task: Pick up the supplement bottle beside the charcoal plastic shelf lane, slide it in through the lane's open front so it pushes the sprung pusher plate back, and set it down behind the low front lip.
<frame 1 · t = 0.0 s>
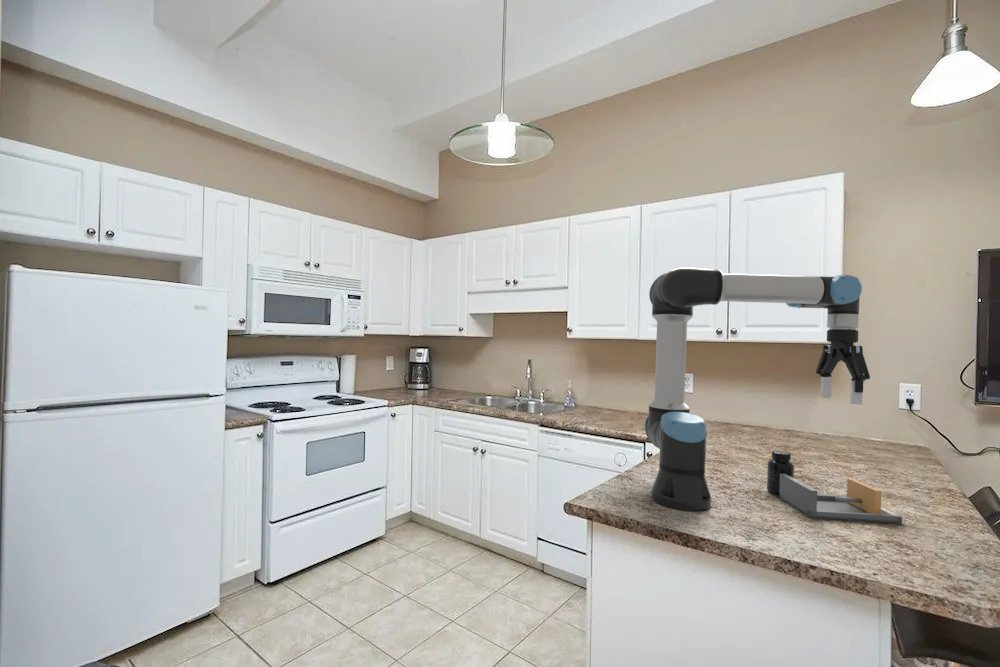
hand: (840, 401, 138), 28 cm above the counter, fingers open, 13 cm apart
pusher: (851, 495, 125), point 4 cm above the counter, slide at 0.0 cm
supplement bottle: (779, 493, 139), on the counter
lane: (836, 510, 125), on the counter
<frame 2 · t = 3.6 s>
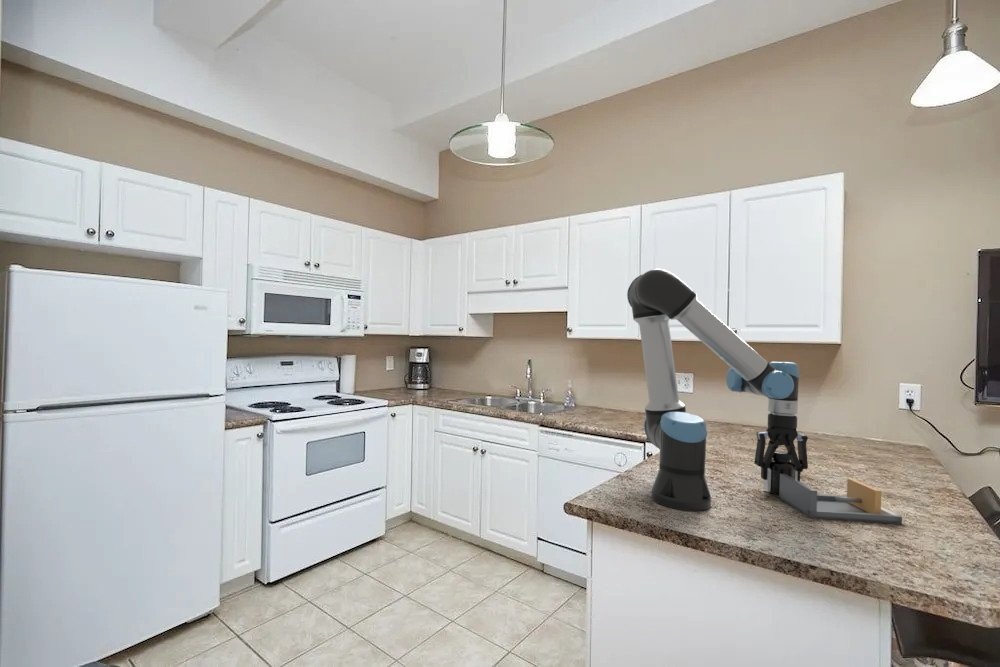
hand: (779, 491, 139), 0 cm above the counter, fingers closed on supplement bottle, 7 cm apart
supplement bottle: (779, 493, 139), on the counter, touching gripper
everything else where it was.
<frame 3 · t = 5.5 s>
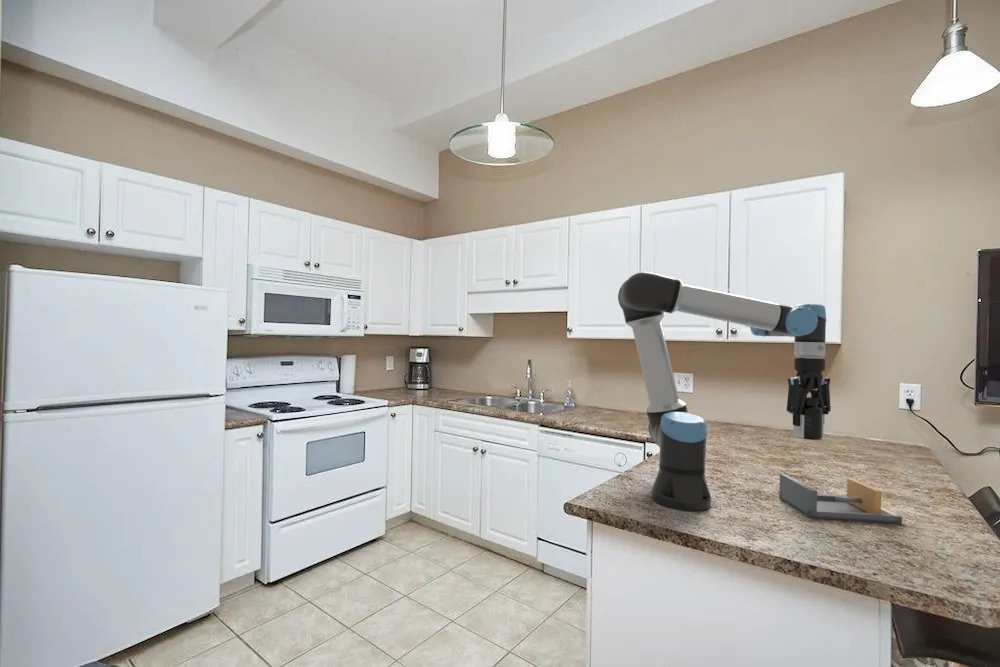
hand: (808, 436, 136), 18 cm above the counter, fingers closed on supplement bottle, 7 cm apart
supplement bottle: (808, 438, 136), point 17 cm above the counter, touching gripper
everything else where it was.
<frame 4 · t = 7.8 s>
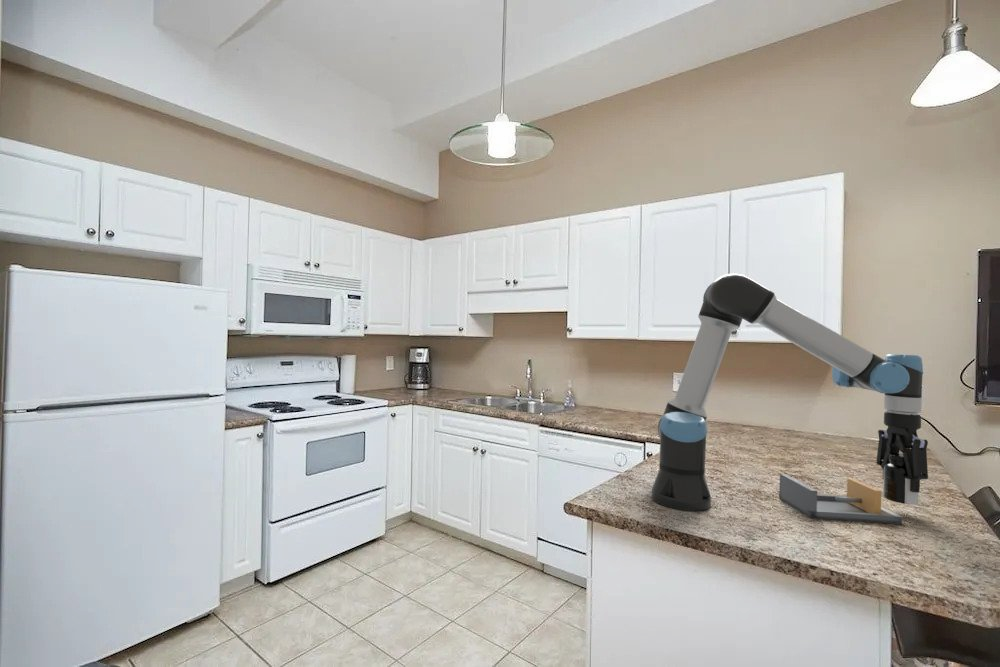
hand: (899, 498, 124), 4 cm above the counter, fingers closed on supplement bottle, 7 cm apart
supplement bottle: (899, 501, 124), point 3 cm above the counter, touching gripper
everything else where it was.
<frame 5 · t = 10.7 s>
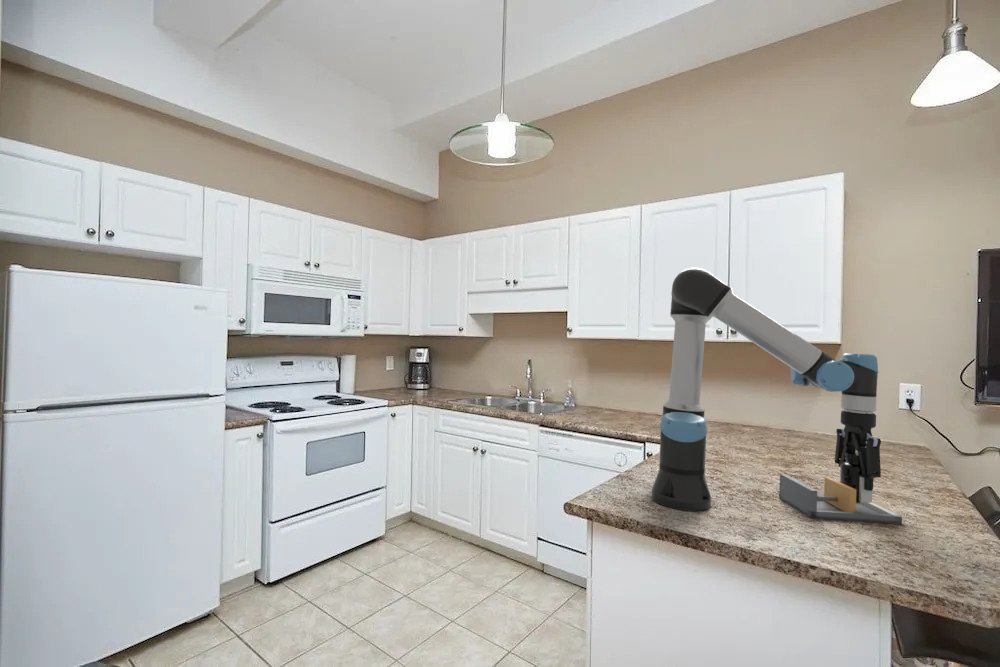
hand: (855, 497, 125), 4 cm above the counter, fingers closed on supplement bottle, 7 cm apart
pusher: (827, 494, 126), point 4 cm above the counter, slide at 6.1 cm, touching supplement bottle
supplement bottle: (855, 499, 125), point 3 cm above the counter, touching gripper, pusher
when the fingers open (2 cm above the counter, at t = 12.0 s): supplement bottle drops 1 cm, resting on lane, pusher.
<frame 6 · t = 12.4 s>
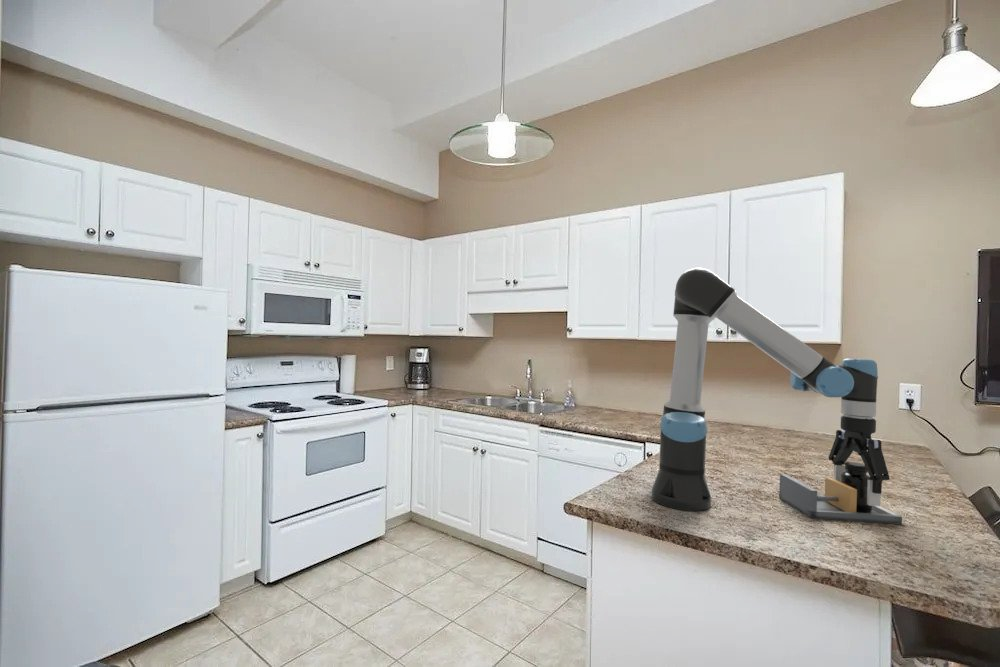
hand: (855, 496, 125), 4 cm above the counter, fingers open, 12 cm apart
supplement bottle: (855, 509, 125), resting on lane, pusher
everything else where it was.
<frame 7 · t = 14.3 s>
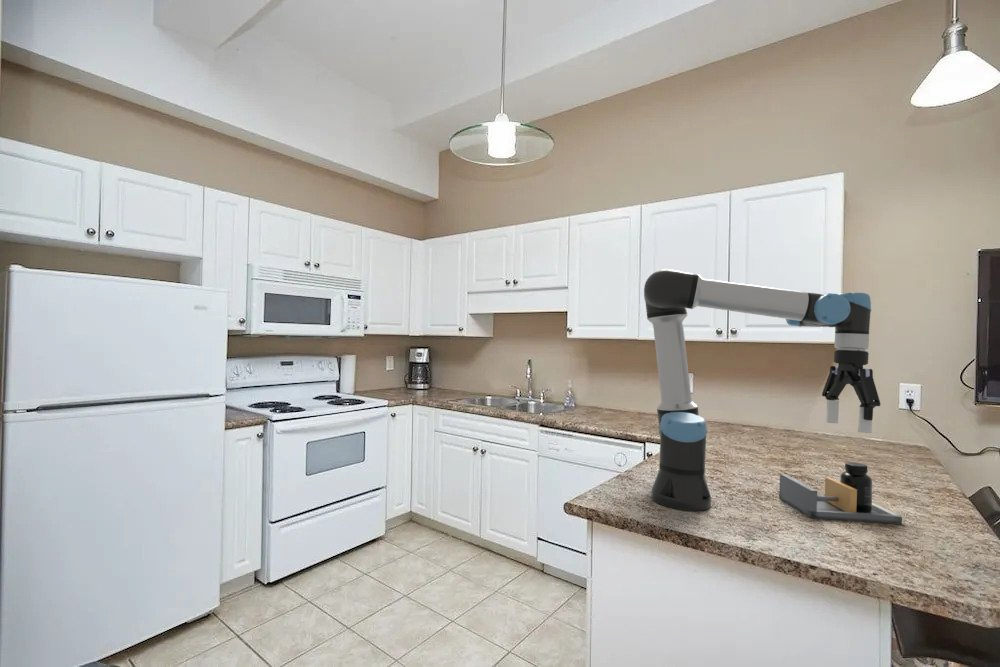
hand: (847, 427, 127), 22 cm above the counter, fingers open, 13 cm apart
nothing on the counter moved.
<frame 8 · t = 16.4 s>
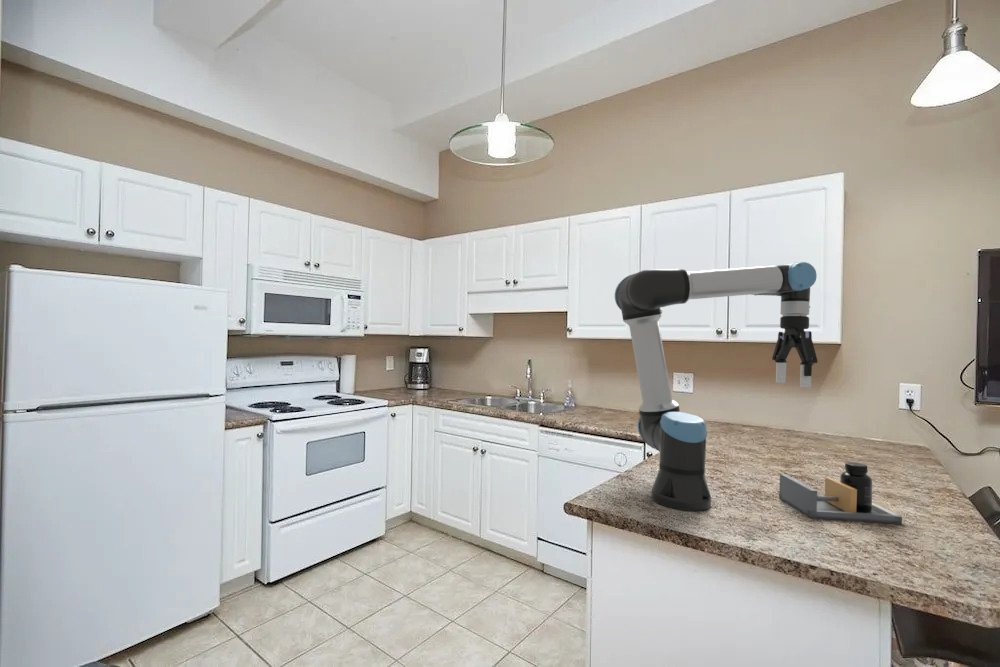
hand: (792, 385, 143), 32 cm above the counter, fingers open, 13 cm apart
nothing on the counter moved.
at the end: supplement bottle inside the target area on the lane (1.6 cm from its centre), point 0.4 cm above the lane's base; supplement bottle tilted 0°; pusher slide at 6.0 cm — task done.
